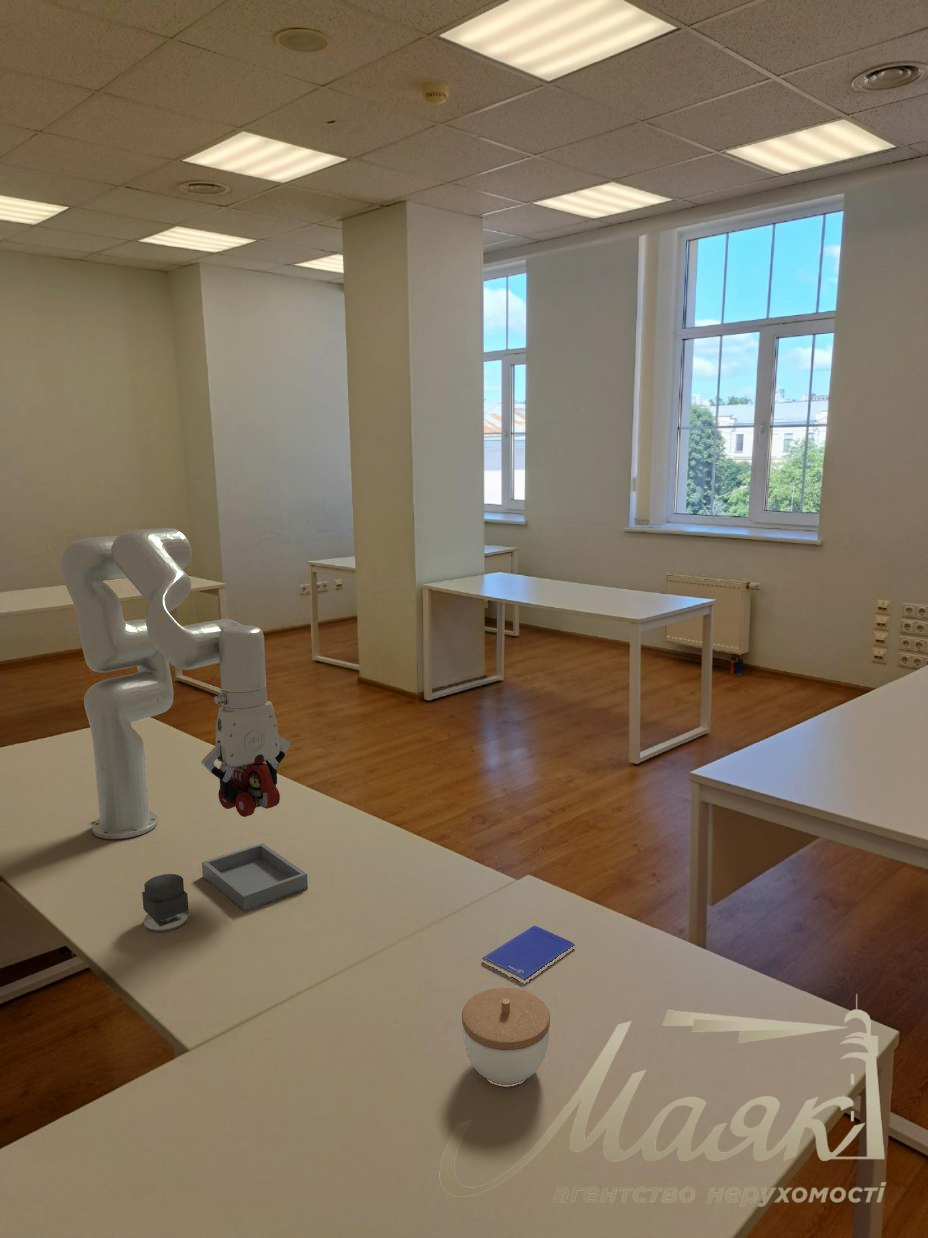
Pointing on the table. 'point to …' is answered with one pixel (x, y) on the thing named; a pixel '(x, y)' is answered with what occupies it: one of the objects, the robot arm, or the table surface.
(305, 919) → the table surface
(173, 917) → the silver flared round stand
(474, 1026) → the lidded jar
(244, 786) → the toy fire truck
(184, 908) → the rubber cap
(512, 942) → the hard drive
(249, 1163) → the table surface
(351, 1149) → the table surface
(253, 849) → the grey shallow rectangular tray
